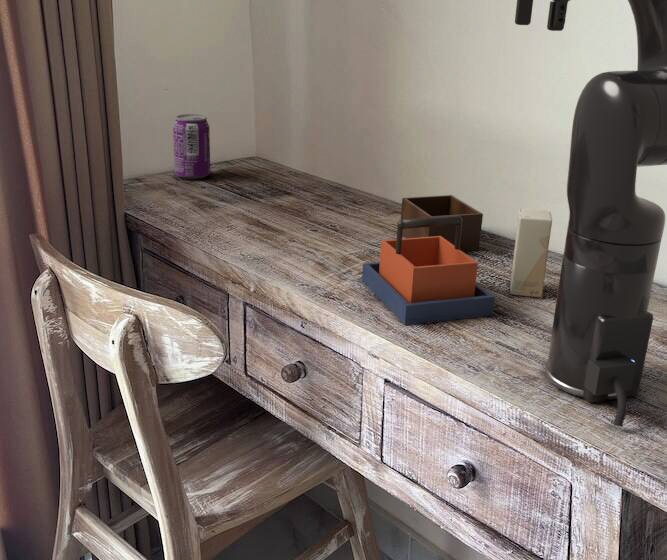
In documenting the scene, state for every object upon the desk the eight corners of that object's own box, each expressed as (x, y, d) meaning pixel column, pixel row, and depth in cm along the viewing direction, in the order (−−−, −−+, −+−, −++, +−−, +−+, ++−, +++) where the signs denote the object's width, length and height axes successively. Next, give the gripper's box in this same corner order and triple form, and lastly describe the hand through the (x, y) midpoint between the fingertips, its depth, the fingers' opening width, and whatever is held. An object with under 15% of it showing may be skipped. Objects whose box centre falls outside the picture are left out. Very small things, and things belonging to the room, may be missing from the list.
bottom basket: (479, 250, 129) (483, 213, 126) (427, 254, 126) (430, 217, 124) (448, 229, 138) (451, 194, 136) (399, 232, 135) (402, 197, 133)
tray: (492, 315, 105) (495, 296, 104) (404, 325, 101) (406, 306, 100) (441, 273, 119) (442, 256, 118) (361, 280, 115) (362, 263, 114)
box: (541, 298, 111) (552, 221, 107) (509, 295, 112) (519, 218, 107) (540, 284, 116) (551, 210, 112) (509, 281, 116) (519, 207, 112)
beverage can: (217, 175, 165) (216, 116, 161) (194, 182, 160) (192, 121, 155) (191, 170, 169) (189, 112, 164) (167, 176, 163) (165, 117, 159)
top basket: (473, 305, 106) (482, 228, 102) (409, 312, 103) (415, 233, 100) (437, 275, 116) (444, 204, 112) (377, 281, 113) (382, 207, 109)
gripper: (502, -99, 113) (489, 23, 119) (559, -105, 101) (542, 32, 107) (549, -96, 115) (534, 23, 121) (610, -101, 103) (591, 32, 109)
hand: (538, 27), depth 114 cm, fingers open, 8 cm apart
